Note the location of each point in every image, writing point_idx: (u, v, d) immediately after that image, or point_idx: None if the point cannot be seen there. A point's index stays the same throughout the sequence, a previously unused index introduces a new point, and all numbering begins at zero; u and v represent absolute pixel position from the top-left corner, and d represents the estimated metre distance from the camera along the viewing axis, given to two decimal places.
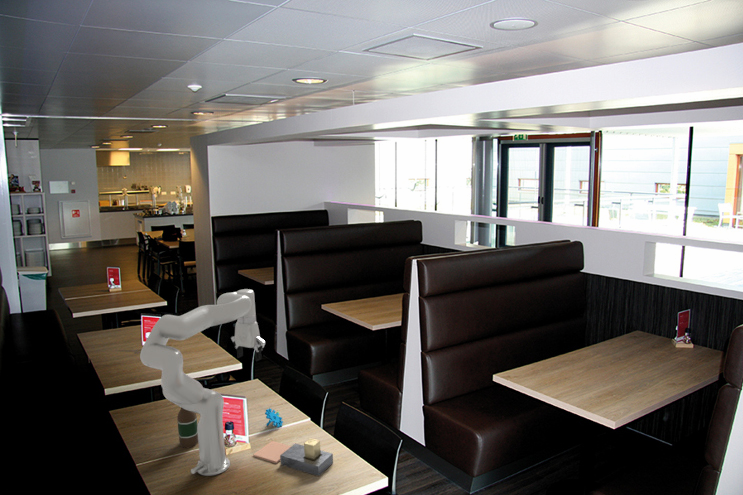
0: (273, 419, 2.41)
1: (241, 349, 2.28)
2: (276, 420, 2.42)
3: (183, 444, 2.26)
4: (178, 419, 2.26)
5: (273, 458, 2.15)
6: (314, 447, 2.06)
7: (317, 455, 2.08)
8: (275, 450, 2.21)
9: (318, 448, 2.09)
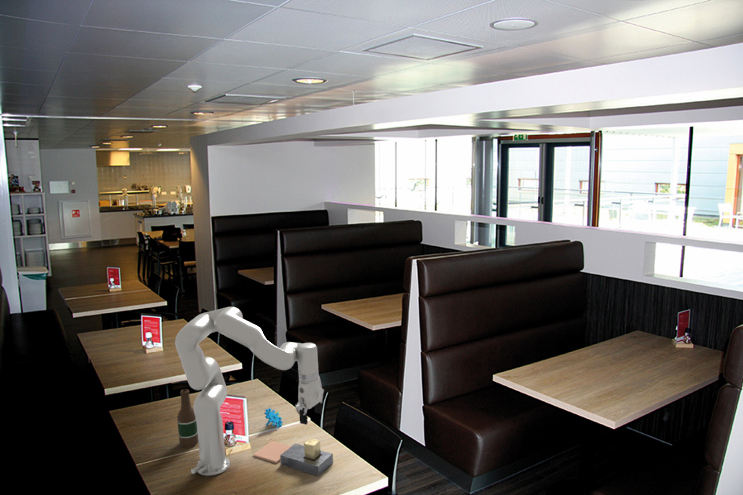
0: (272, 419, 2.41)
1: None
2: (275, 420, 2.42)
3: (183, 444, 2.26)
4: (178, 419, 2.26)
5: (273, 458, 2.15)
6: (314, 447, 2.06)
7: (317, 455, 2.08)
8: (275, 450, 2.21)
9: (318, 448, 2.09)
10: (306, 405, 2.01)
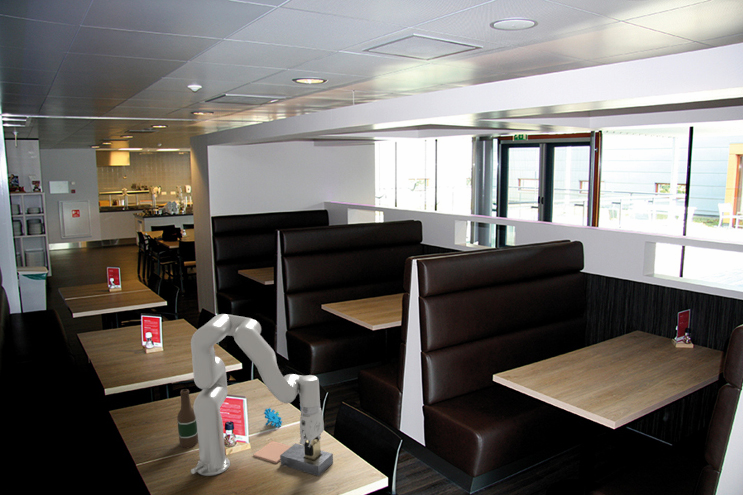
0: (272, 419, 2.41)
1: None
2: (275, 420, 2.42)
3: (183, 444, 2.26)
4: (178, 419, 2.26)
5: (273, 458, 2.15)
6: (314, 447, 2.06)
7: (317, 455, 2.08)
8: (275, 450, 2.21)
9: (318, 448, 2.09)
10: (307, 437, 2.03)
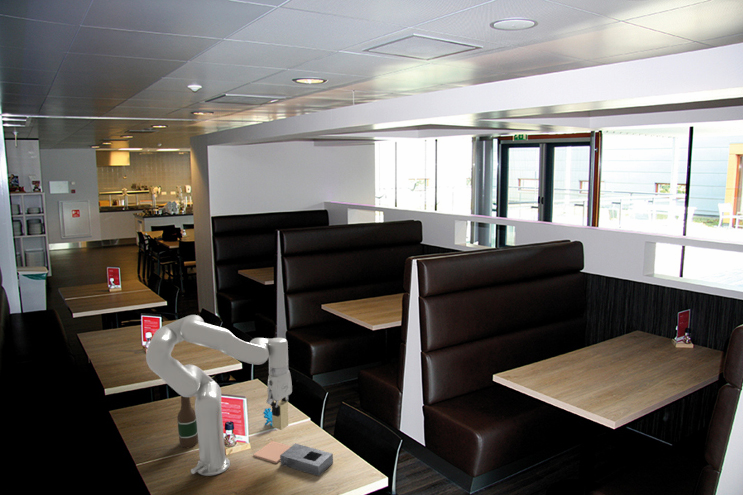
0: (271, 419, 2.41)
1: None
2: None
3: (183, 444, 2.26)
4: (178, 419, 2.26)
5: (273, 458, 2.15)
6: (281, 407, 2.12)
7: (284, 416, 2.14)
8: (275, 450, 2.21)
9: (285, 409, 2.14)
10: (274, 397, 2.08)
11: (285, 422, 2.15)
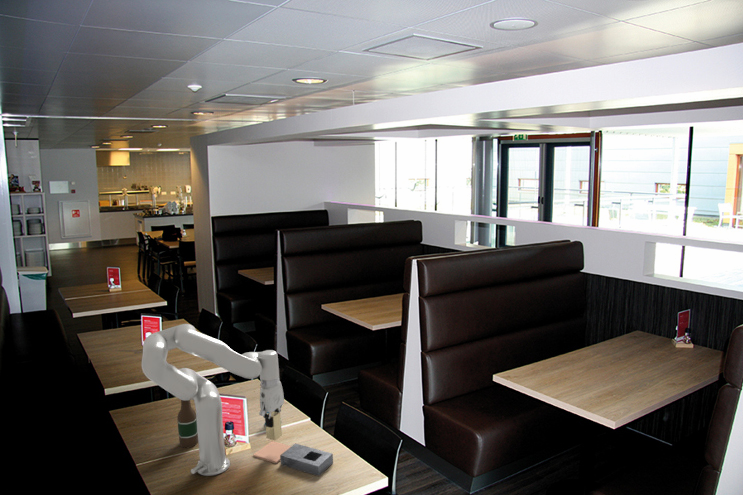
0: None
1: None
2: None
3: (183, 444, 2.26)
4: (178, 419, 2.26)
5: (273, 458, 2.15)
6: (274, 418, 2.16)
7: (277, 426, 2.18)
8: (275, 450, 2.21)
9: (278, 420, 2.18)
10: (267, 409, 2.12)
11: (279, 432, 2.19)
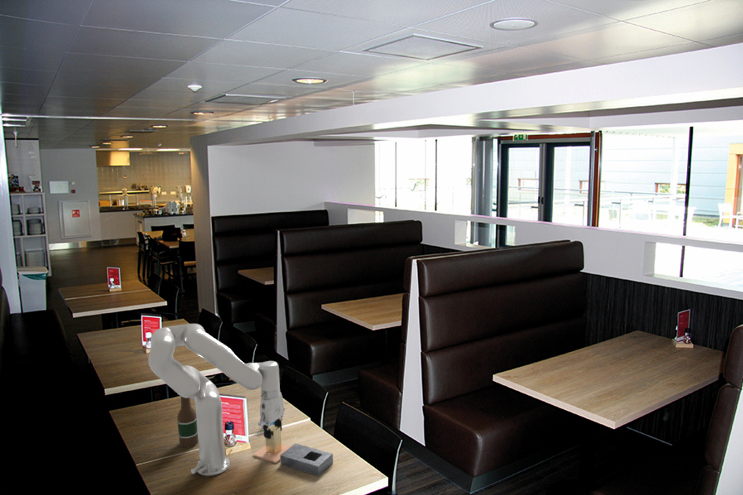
0: None
1: None
2: None
3: (183, 444, 2.26)
4: (178, 419, 2.26)
5: (273, 458, 2.15)
6: (274, 433, 2.17)
7: (277, 440, 2.19)
8: None
9: (278, 434, 2.19)
10: (267, 420, 2.13)
11: (278, 446, 2.20)
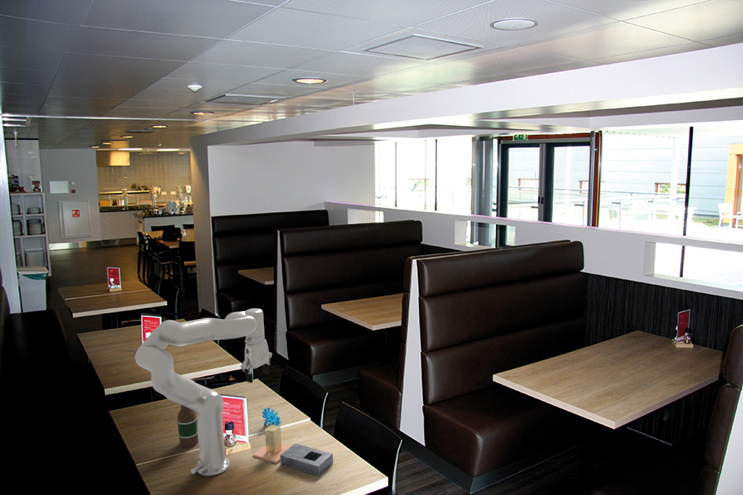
0: (270, 419, 2.41)
1: None
2: (273, 420, 2.42)
3: (183, 444, 2.26)
4: (178, 419, 2.26)
5: (273, 458, 2.15)
6: (274, 433, 2.17)
7: (277, 440, 2.19)
8: None
9: (278, 434, 2.19)
10: (251, 365, 2.19)
11: (278, 446, 2.20)
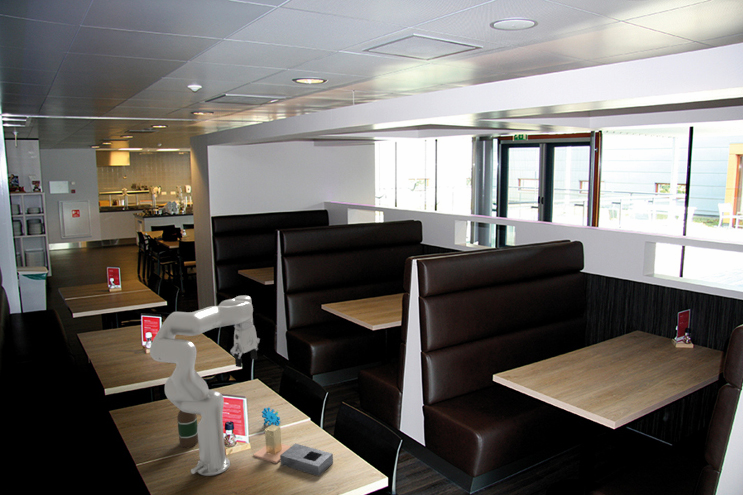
0: (269, 418, 2.41)
1: None
2: (272, 420, 2.42)
3: (183, 444, 2.26)
4: (178, 419, 2.26)
5: (273, 458, 2.15)
6: (274, 433, 2.17)
7: (277, 440, 2.19)
8: None
9: (278, 434, 2.19)
10: (240, 350, 2.26)
11: (278, 446, 2.20)
